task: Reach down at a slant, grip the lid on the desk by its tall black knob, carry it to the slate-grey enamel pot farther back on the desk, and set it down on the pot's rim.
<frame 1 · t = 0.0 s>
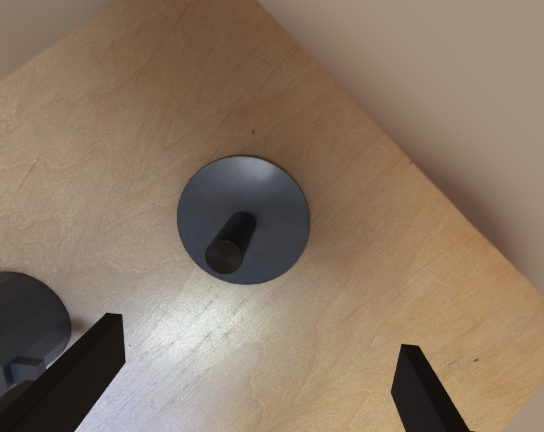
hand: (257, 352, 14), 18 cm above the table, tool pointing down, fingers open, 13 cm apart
pot: (21, 318, 36), on the table
lid: (243, 222, 30), point 1 cm above the table
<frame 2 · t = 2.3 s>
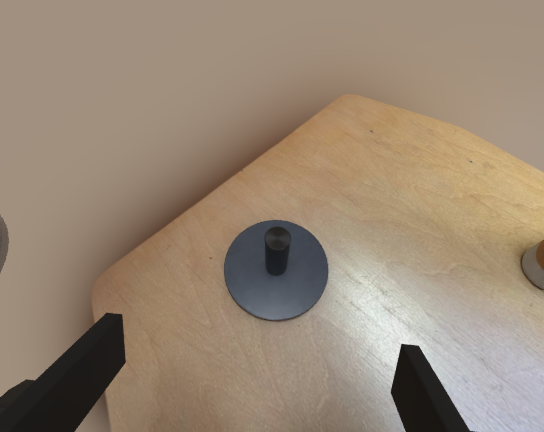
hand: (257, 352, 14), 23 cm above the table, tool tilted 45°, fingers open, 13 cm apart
coffee cup: (543, 271, 40), on the table
lid: (276, 267, 39), point 1 cm above the table
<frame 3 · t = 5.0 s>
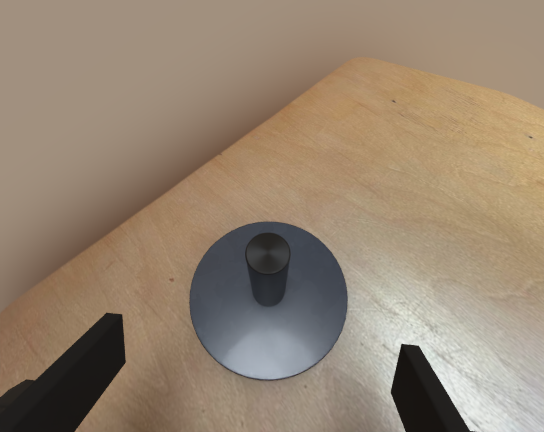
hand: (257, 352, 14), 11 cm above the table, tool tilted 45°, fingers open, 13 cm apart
lid: (268, 292, 26), point 1 cm above the table
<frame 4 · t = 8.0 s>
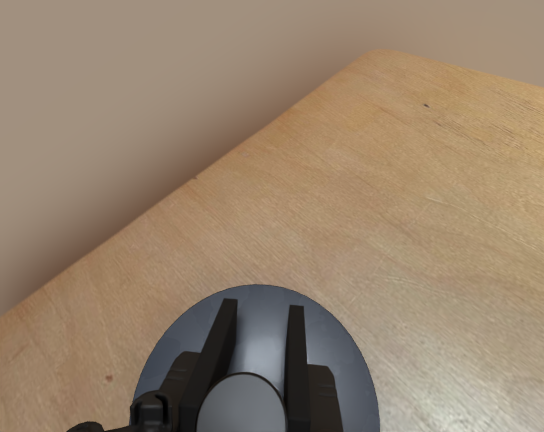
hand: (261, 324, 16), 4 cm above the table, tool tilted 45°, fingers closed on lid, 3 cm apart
lid: (255, 405, 17), point 1 cm above the table, touching gripper
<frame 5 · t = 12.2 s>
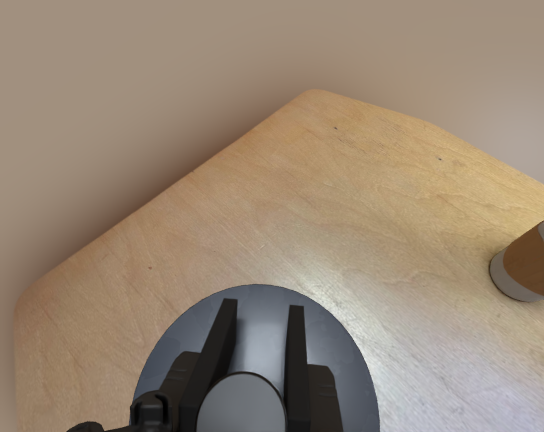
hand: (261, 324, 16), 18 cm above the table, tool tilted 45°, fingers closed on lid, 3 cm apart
coffee cup: (513, 277, 36), on the table
lid: (255, 404, 17), point 15 cm above the table, touching gripper
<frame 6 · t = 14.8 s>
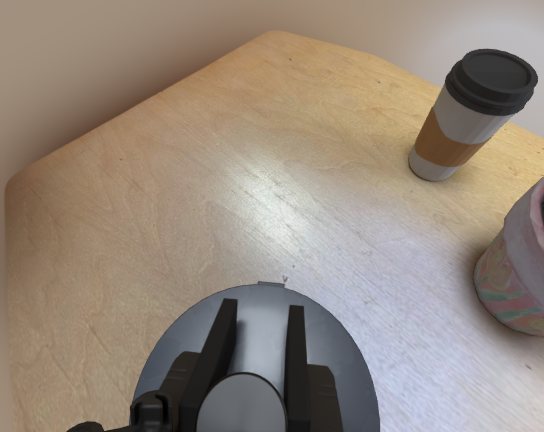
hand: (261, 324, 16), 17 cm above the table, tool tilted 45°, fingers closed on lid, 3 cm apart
coffee cup: (428, 165, 43), on the table
lid: (255, 405, 17), point 14 cm above the table, touching gripper
potted plant: (525, 293, 34), on the table
when the fingers open (12 cm above the table, at t = 16.5 s): lid stays where it is, resting on pot.
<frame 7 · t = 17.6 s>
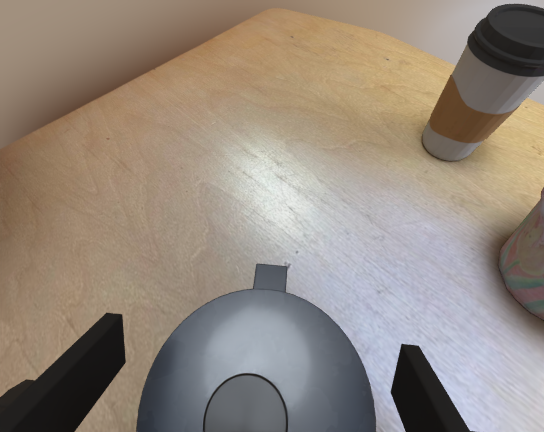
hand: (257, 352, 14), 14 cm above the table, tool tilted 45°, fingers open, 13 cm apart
pot: (261, 397, 25), on the table
coffee cup: (444, 145, 39), on the table
lid: (257, 404, 17), point 8 cm above the table, touching pot
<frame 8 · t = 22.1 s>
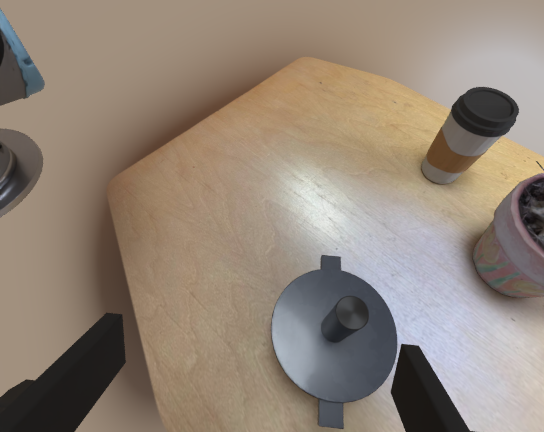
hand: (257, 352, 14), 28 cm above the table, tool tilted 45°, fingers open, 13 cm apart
pot: (321, 339, 40), on the table
coffee cup: (437, 171, 54), on the table
lid: (332, 329, 32), point 8 cm above the table, touching pot
potted plant: (511, 268, 45), on the table
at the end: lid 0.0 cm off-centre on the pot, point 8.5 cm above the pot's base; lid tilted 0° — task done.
